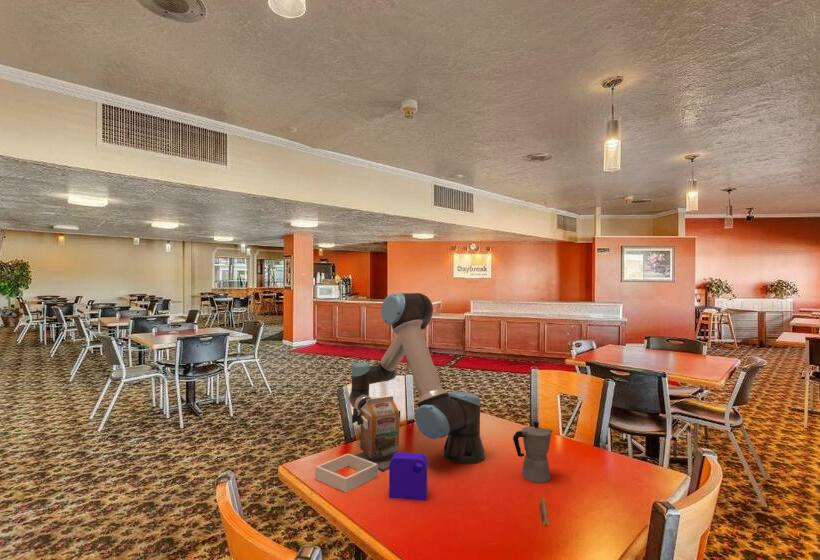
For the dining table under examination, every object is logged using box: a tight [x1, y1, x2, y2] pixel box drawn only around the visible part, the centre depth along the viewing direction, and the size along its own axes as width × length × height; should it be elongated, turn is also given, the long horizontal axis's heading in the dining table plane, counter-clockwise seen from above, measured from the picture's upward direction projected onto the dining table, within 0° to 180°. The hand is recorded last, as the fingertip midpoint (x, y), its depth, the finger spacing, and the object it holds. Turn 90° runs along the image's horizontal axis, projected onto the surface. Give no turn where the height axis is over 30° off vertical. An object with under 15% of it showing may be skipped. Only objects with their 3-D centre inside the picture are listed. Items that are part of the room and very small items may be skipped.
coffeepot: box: [512, 421, 554, 484], centre depth 138 cm, size 15×9×18 cm, turn 110°
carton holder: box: [314, 453, 379, 493], centre depth 136 cm, size 14×14×4 cm
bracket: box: [388, 451, 429, 502], centre depth 132 cm, size 18×11×12 cm, turn 173°
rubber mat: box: [353, 451, 394, 472], centre depth 152 cm, size 16×14×1 cm
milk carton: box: [359, 396, 400, 458], centre depth 152 cm, size 11×10×19 cm
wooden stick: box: [538, 496, 550, 526], centre depth 115 cm, size 3×12×2 cm, turn 166°
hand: (383, 423), depth 149 cm, fingers closed on milk carton, 11 cm apart
